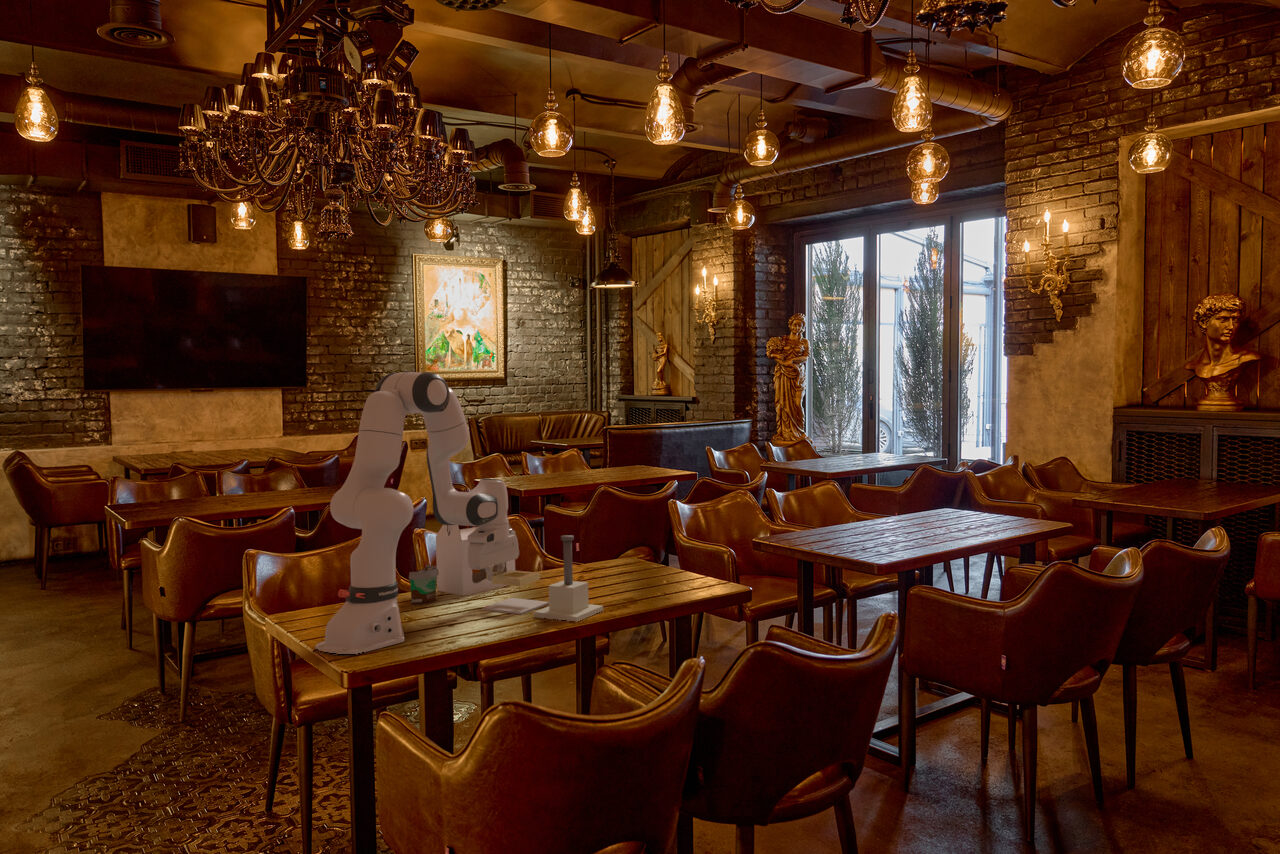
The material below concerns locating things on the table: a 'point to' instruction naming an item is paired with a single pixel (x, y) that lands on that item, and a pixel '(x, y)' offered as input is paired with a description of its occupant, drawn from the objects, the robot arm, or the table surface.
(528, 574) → the ring
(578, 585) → the stand
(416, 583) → the food container
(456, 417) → the robot arm
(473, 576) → the gable box
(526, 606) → the mat
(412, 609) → the table surface
